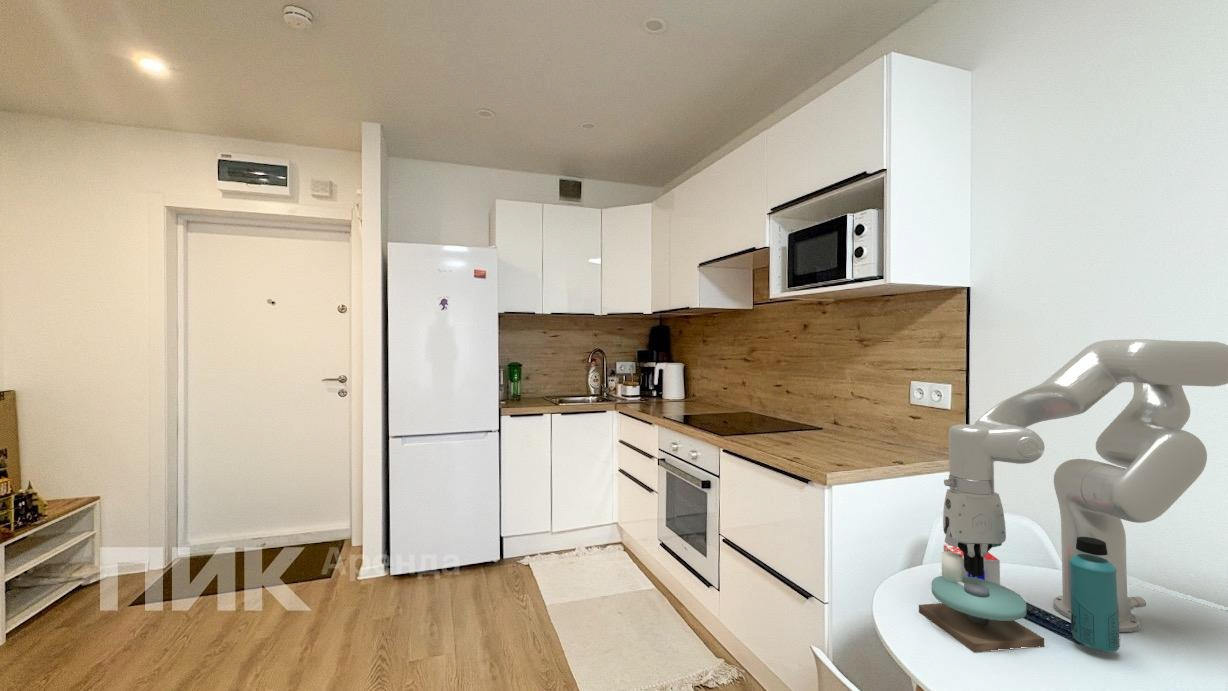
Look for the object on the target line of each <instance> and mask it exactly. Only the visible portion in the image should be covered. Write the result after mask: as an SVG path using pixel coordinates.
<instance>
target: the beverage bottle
mask: <svg viewBox="0 0 1228 691" xmlns="http://www.w3.org/2000/svg"><path fill="white" fill-rule="evenodd" d="M1076 549H1077V550H1079V551H1082V552H1085V553H1088V554H1077V555H1075V556H1073V557H1071V558H1070V559H1069V563H1070V582H1069V583H1070V590H1069V591H1070V595H1071V601H1070V602H1071V607H1070V608H1071V619H1070V628H1071V629H1070V632H1071V634H1072V637H1073V639H1074V640H1075V641H1076V642H1079V643H1080V644H1082V645H1084V646H1086V647H1089V648H1091V649H1095V650H1097V651H1098V650H1099V651H1103V652H1109V653H1113V652H1117V651H1118V650H1119V648H1120V647H1121V637H1120V632H1119V625H1120V622H1119V620H1118V618H1120V617H1118V613H1119V612H1118V611H1119V610H1118V609H1119V607H1118V606H1119V605H1118V600H1117V599H1118V598H1117V581H1116V571H1117V570H1116V568H1115V566H1114V565H1112V564H1111V563H1110V562H1109V561H1108V560H1106V559H1104V558H1101V557H1098V556H1094V555H1107V548H1106V543H1105V542H1104V541H1102V540H1099V539H1096V538H1091V537H1077V542H1076ZM1089 554H1093V555H1089Z"/></svg>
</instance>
